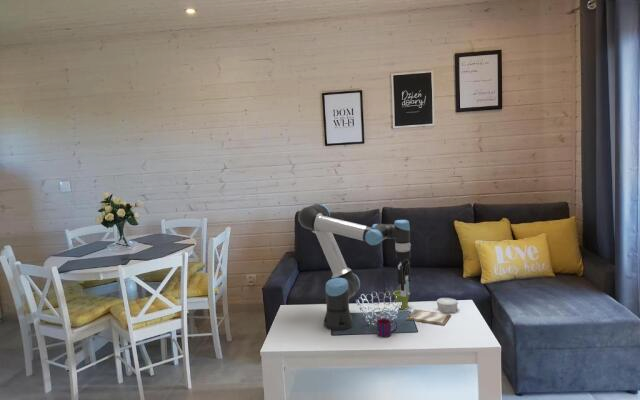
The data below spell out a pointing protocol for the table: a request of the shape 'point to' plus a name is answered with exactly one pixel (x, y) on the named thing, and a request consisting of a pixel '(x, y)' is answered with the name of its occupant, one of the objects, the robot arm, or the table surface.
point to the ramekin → (447, 305)
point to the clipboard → (429, 317)
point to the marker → (406, 285)
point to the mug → (384, 327)
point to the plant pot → (401, 299)
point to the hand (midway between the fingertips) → (404, 294)
